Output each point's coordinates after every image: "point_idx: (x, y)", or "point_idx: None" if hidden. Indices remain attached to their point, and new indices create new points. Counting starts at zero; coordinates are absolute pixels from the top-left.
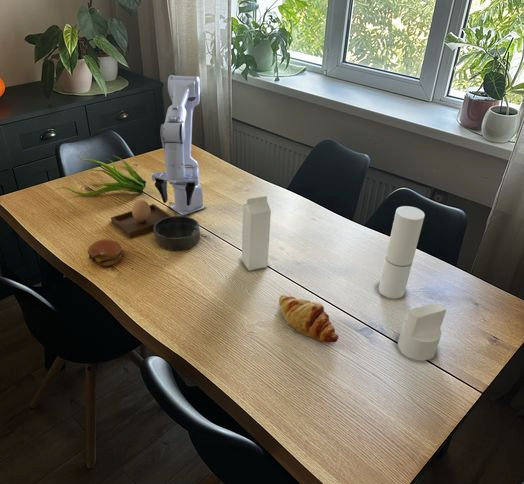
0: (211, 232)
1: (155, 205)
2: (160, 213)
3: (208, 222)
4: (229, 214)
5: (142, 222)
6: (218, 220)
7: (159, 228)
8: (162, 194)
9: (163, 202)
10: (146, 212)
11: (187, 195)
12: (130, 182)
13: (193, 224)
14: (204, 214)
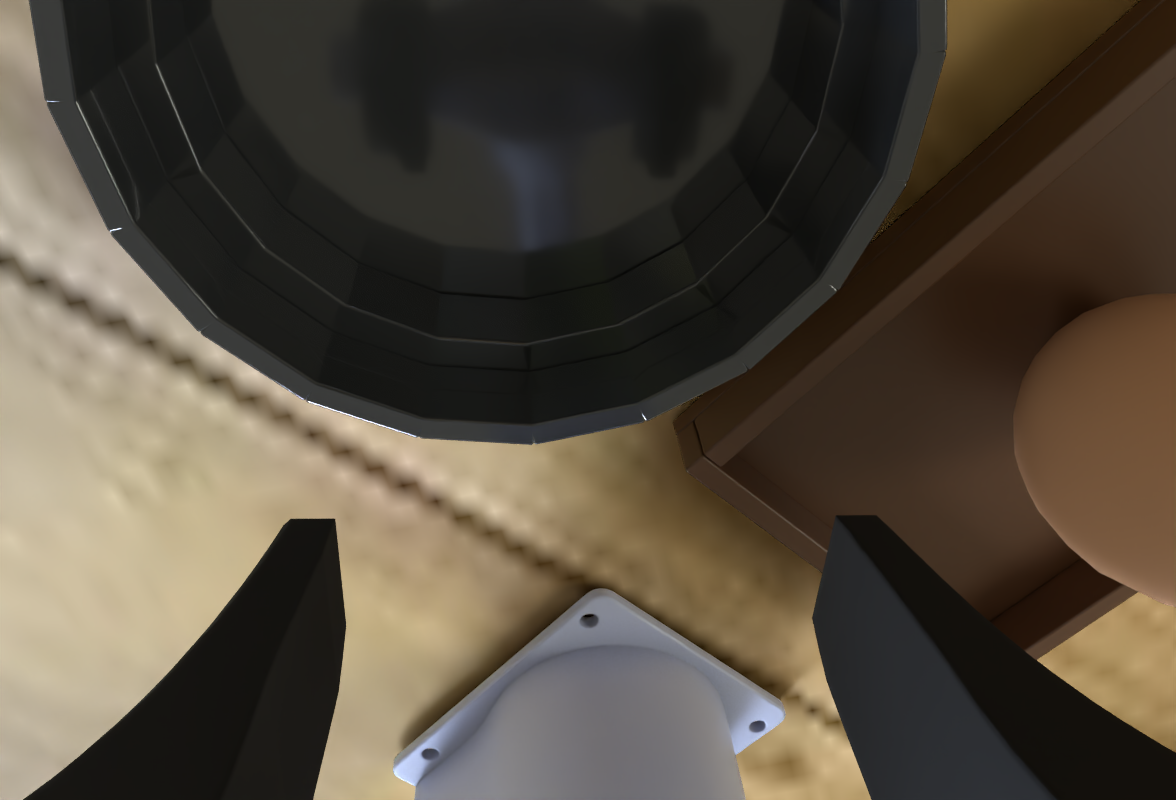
0: (71, 305)
1: None
2: None
3: (226, 521)
4: (56, 714)
5: None
6: (122, 583)
7: (831, 118)
8: (971, 653)
9: (883, 522)
10: (1113, 397)
11: (225, 710)
12: None
13: (304, 323)
14: (348, 659)
